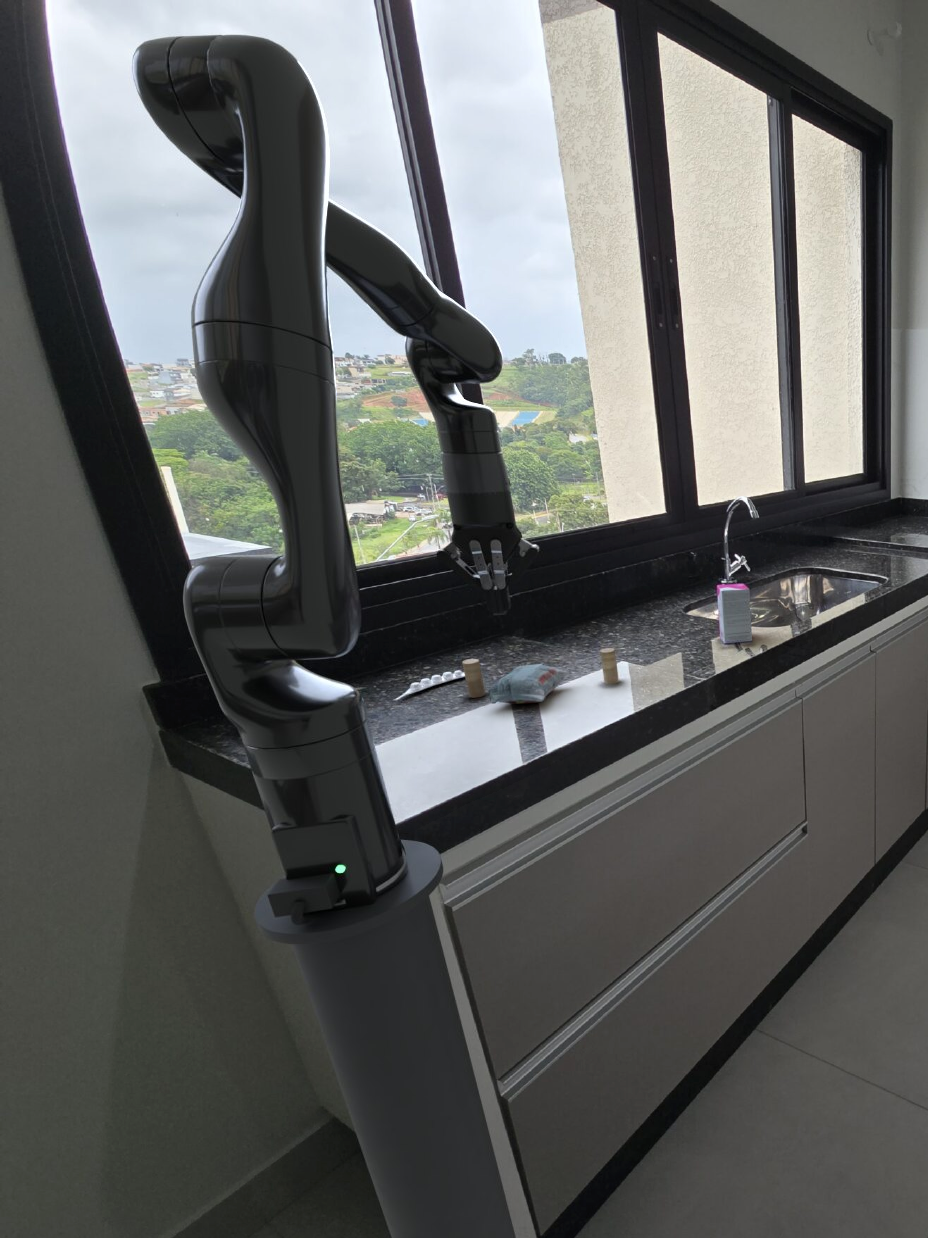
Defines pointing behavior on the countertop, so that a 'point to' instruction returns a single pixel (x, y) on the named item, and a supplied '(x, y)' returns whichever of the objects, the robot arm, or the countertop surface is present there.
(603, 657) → the marker peg right
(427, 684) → the pea pod
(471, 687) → the marker peg left
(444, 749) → the countertop surface
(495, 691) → the packaged food
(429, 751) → the countertop surface
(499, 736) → the countertop surface
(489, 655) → the countertop surface
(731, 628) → the supplement box
